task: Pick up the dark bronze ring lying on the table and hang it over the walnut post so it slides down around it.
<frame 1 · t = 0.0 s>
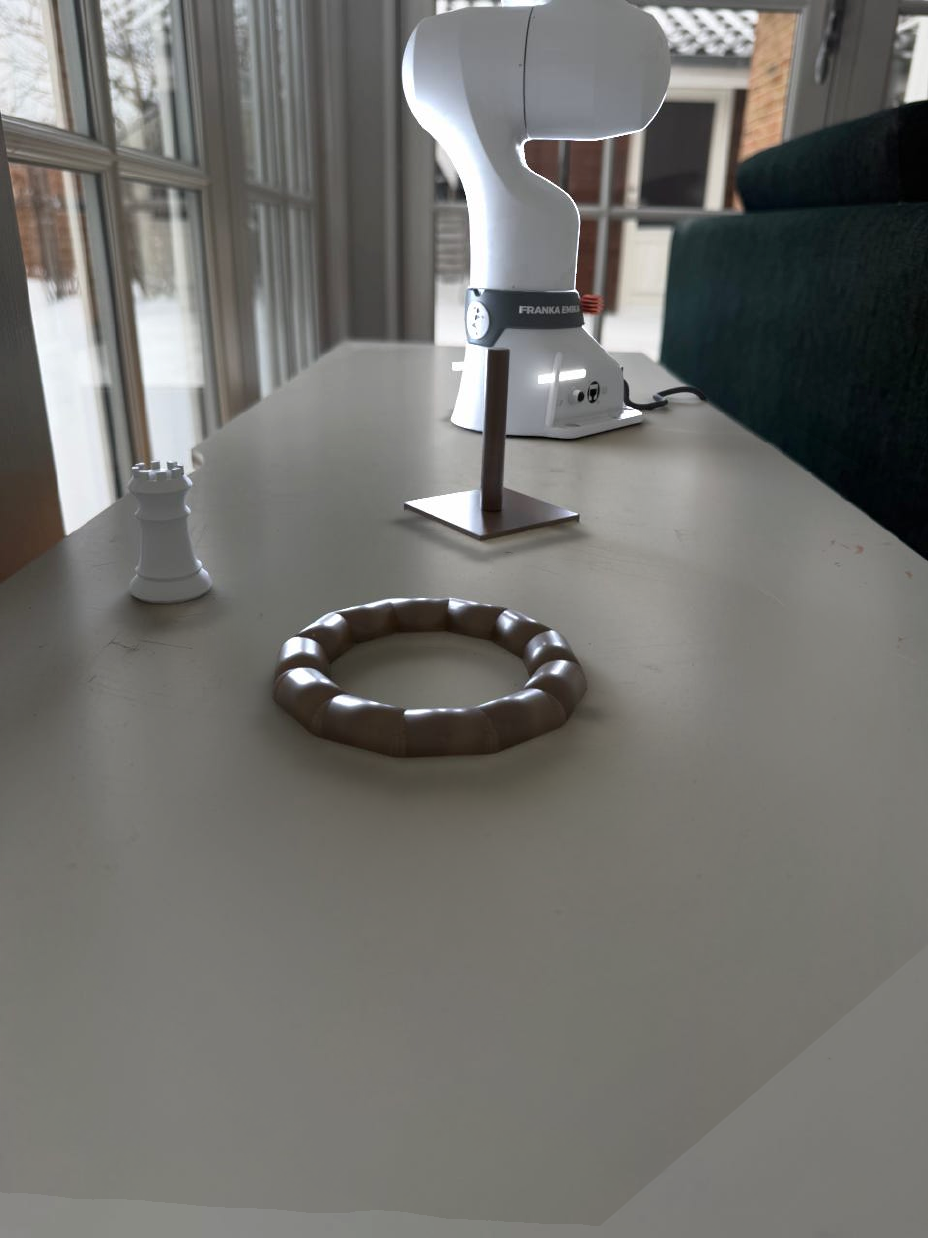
rook chess piece: (174, 612, 49), on the table
post: (490, 528, 64), on the table
ring: (429, 672, 40), point 1 cm above the table
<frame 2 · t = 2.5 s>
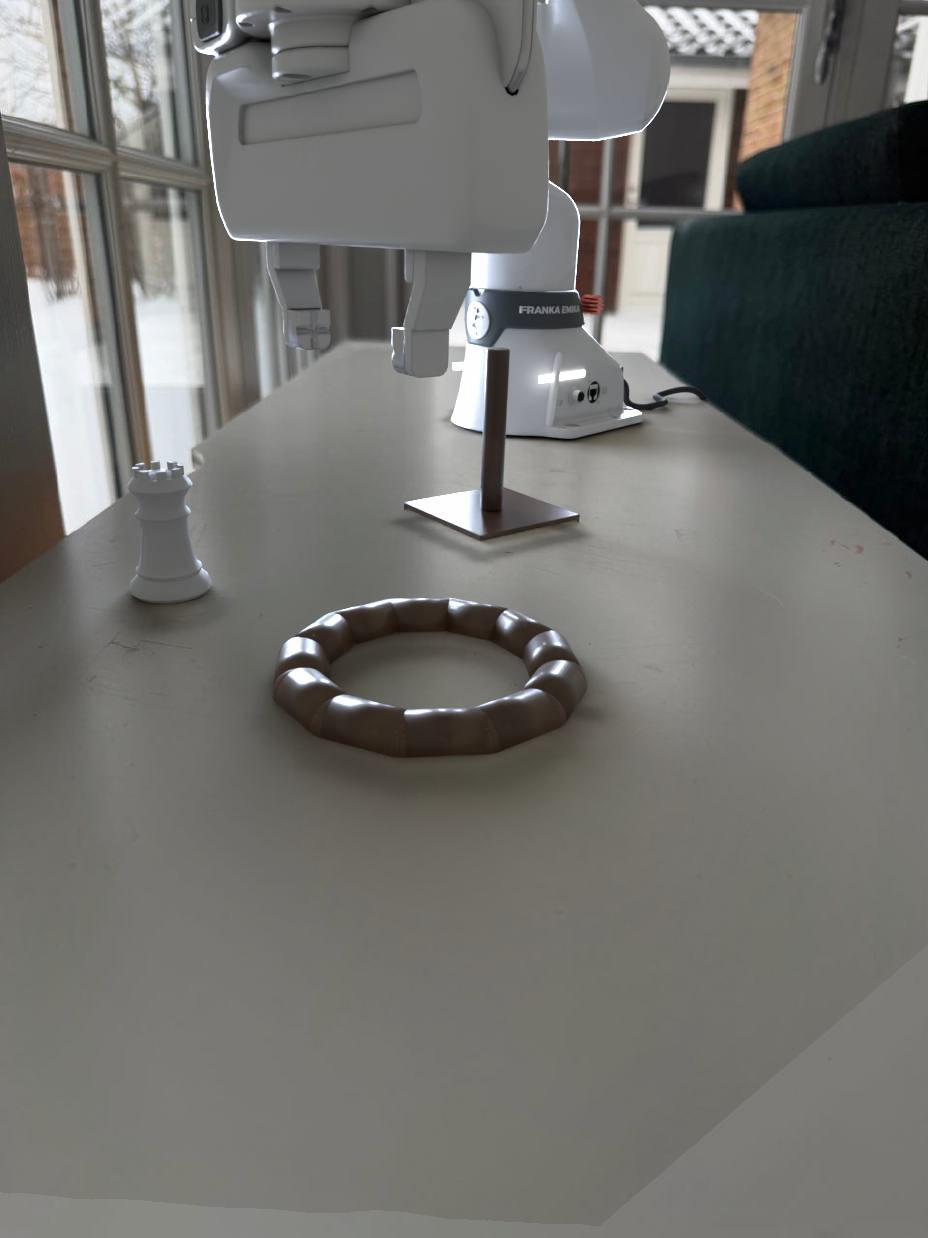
hand: (358, 360, 39), 14 cm above the table, tool pointing down, fingers open, 8 cm apart
nothing on the table moved.
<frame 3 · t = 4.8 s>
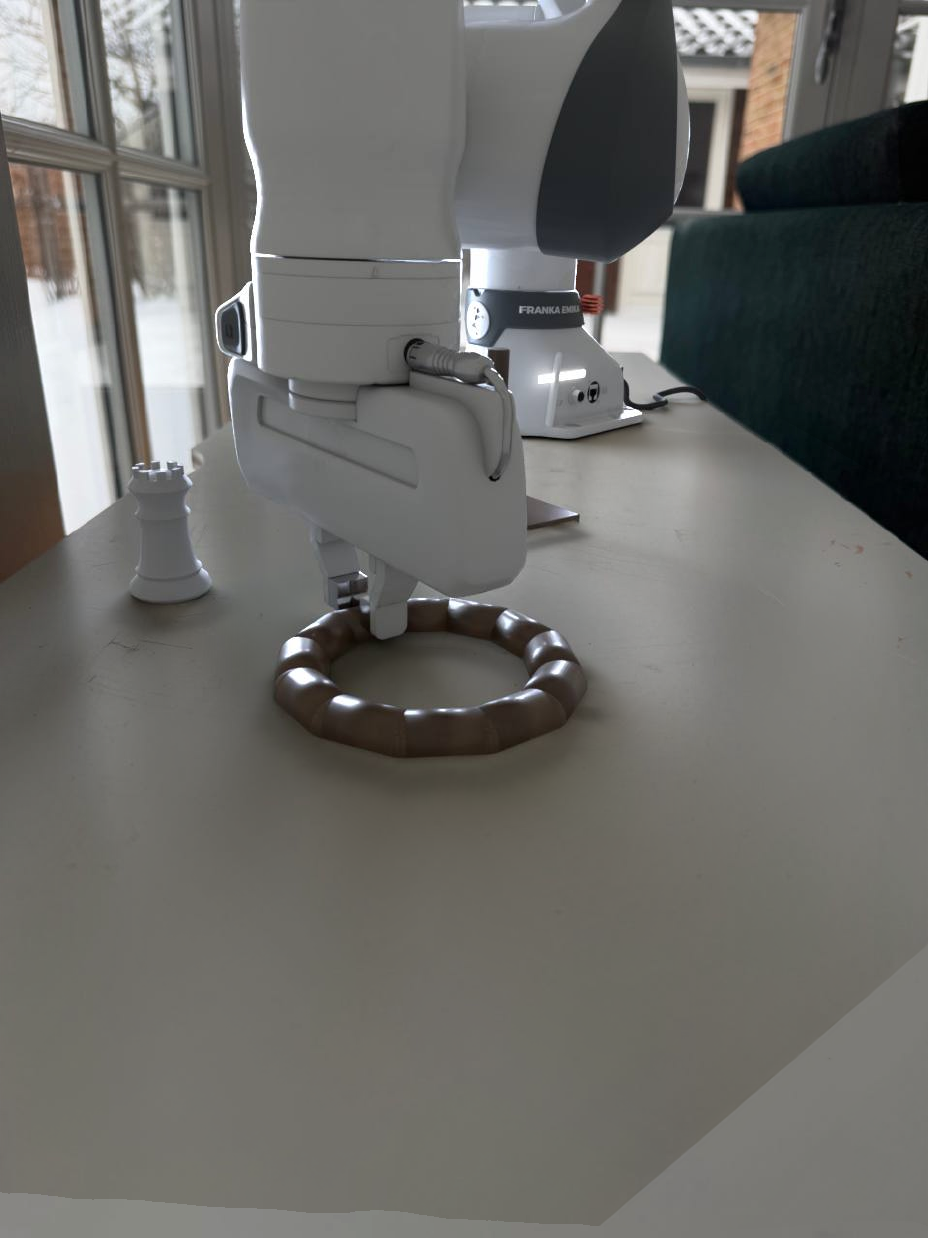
hand: (364, 619, 44), 2 cm above the table, tool pointing down, fingers closed on ring, 2 cm apart
ring: (429, 672, 40), point 1 cm above the table, touching gripper
everything else where it was.
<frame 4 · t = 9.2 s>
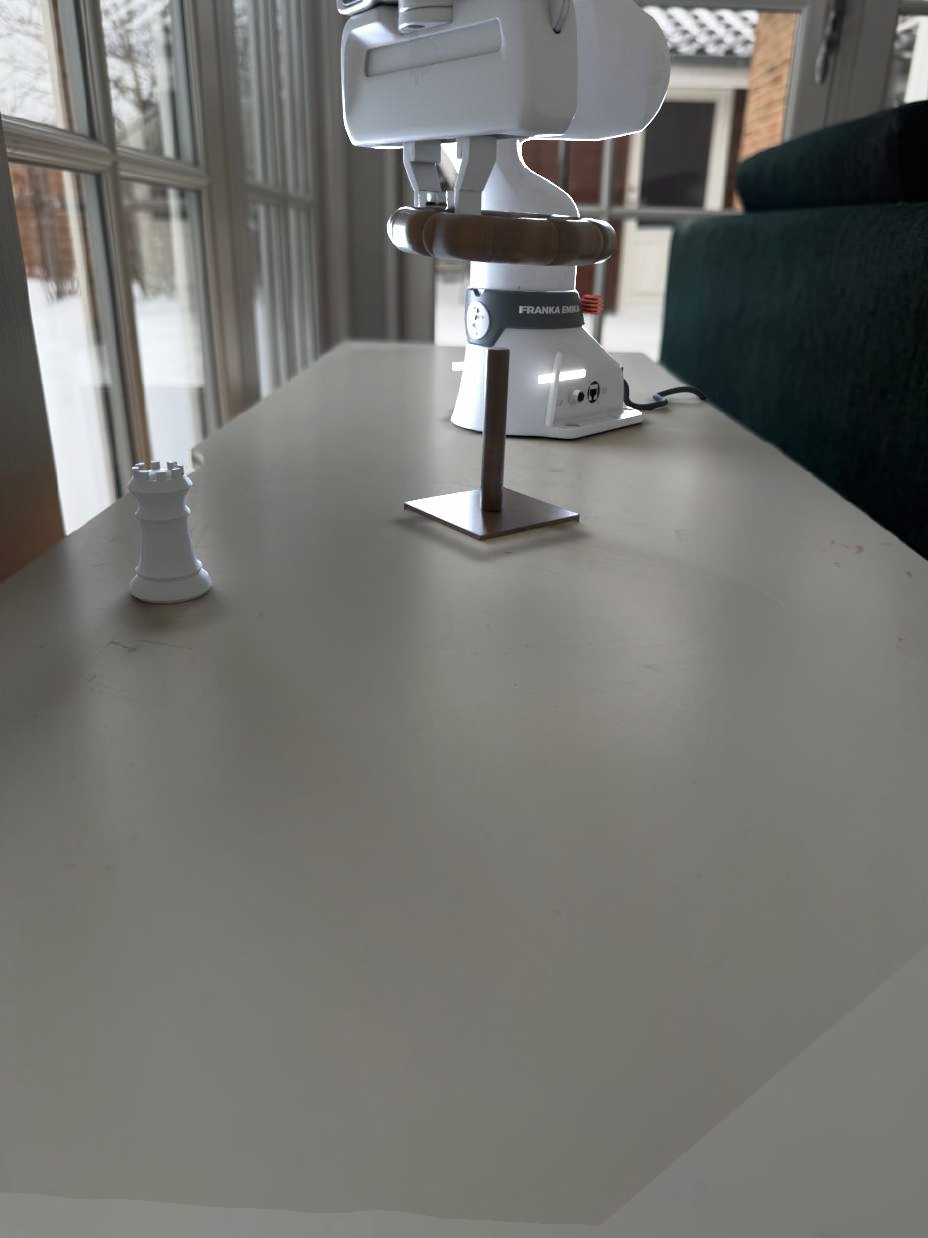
hand: (446, 220, 58), 20 cm above the table, tool pointing down, fingers closed on ring, 2 cm apart
ring: (500, 234, 54), point 19 cm above the table, touching gripper
everything else where it was.
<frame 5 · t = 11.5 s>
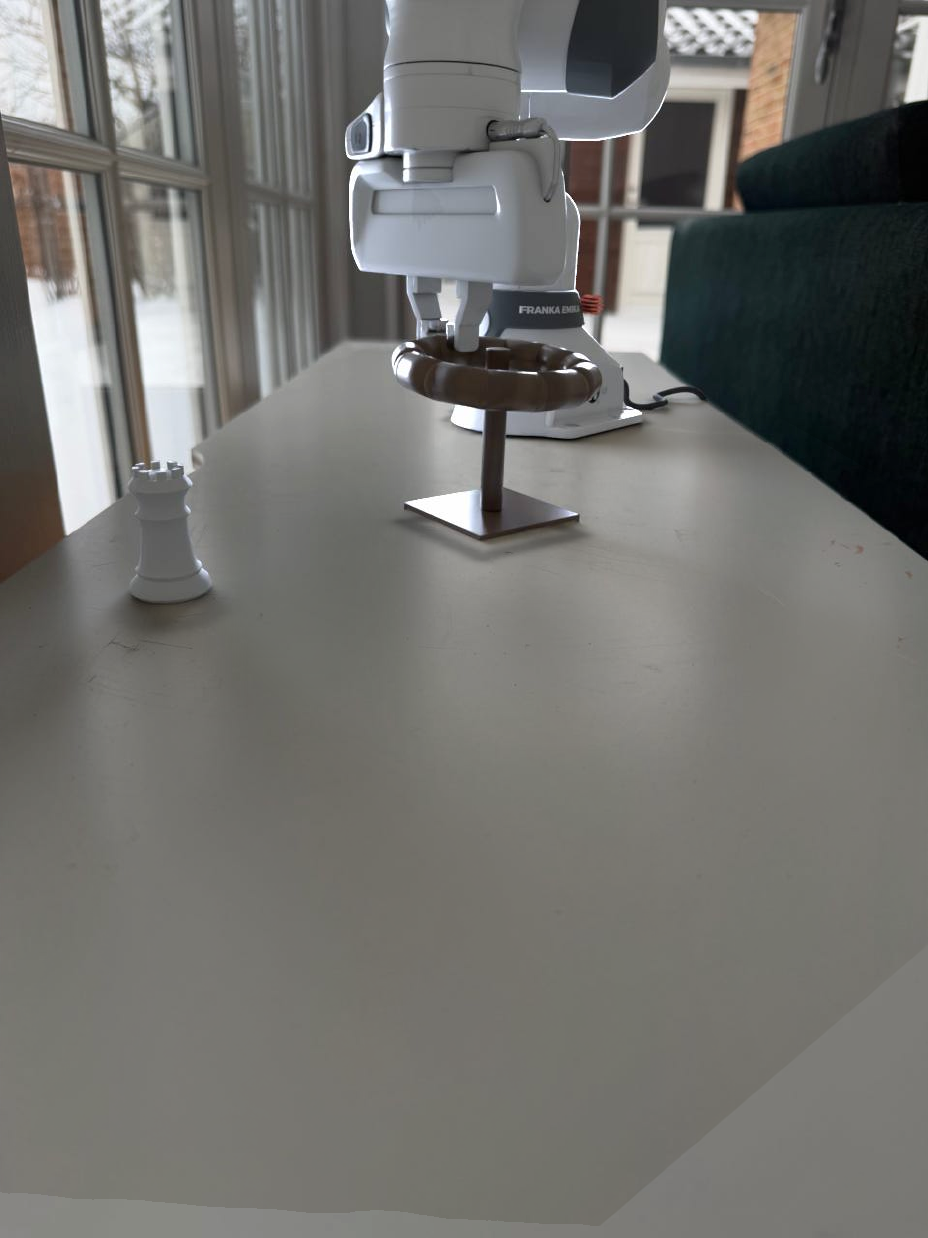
hand: (446, 347, 63), 12 cm above the table, tool pointing down, fingers closed on ring, 2 cm apart
ring: (496, 370, 59), point 11 cm above the table, touching gripper
everything else where it was.
when the fingers open (6 cm above the table, at t = 13.6 s): ring drops 2 cm, resting on post.
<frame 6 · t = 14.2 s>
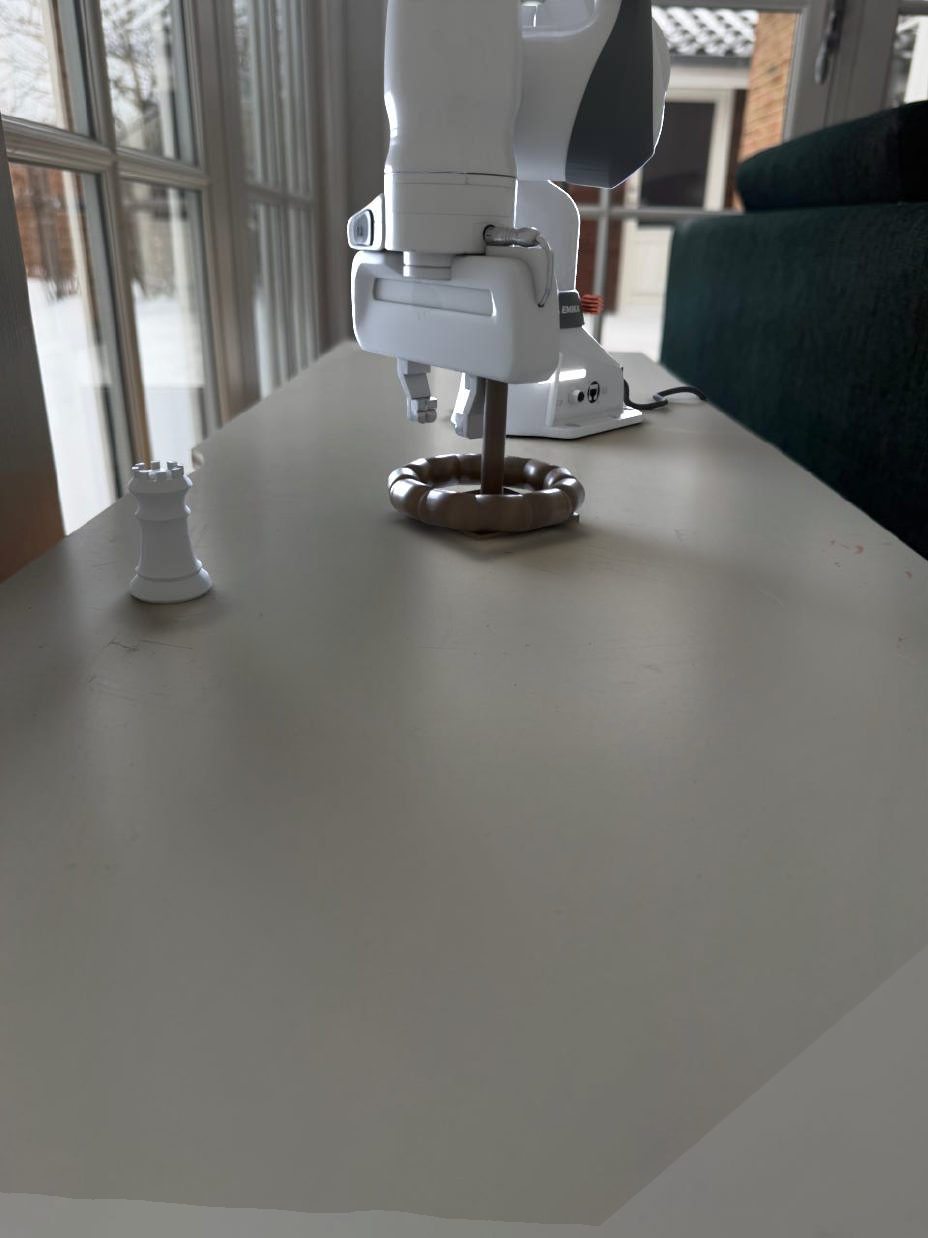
hand: (445, 429, 65), 6 cm above the table, tool pointing down, fingers open, 5 cm apart
ring: (485, 489, 63), point 3 cm above the table, touching post
everything else where it was.
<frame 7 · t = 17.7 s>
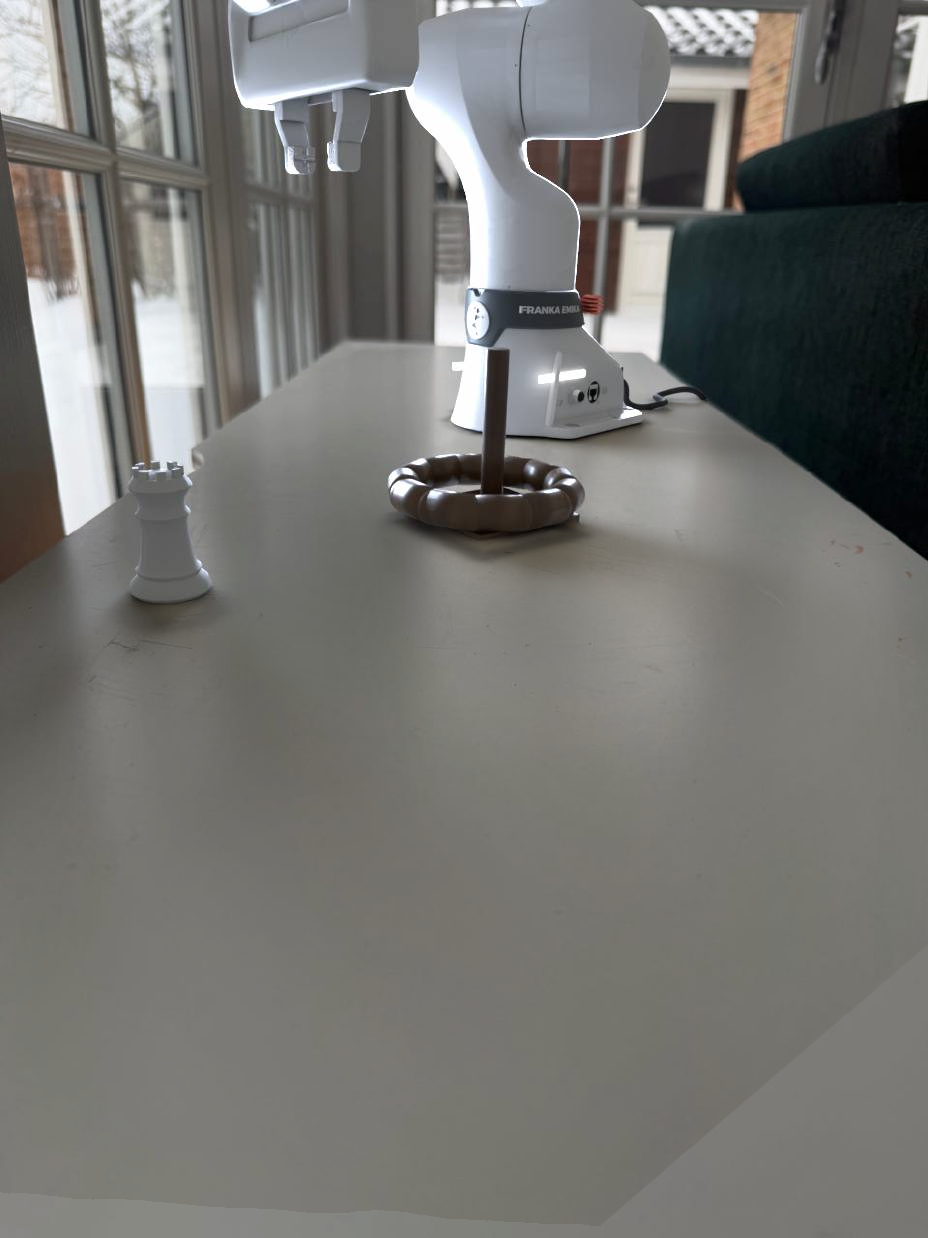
hand: (321, 172, 64), 23 cm above the table, tool pointing down, fingers open, 5 cm apart
nothing on the table moved.
at the end: ring 0.7 cm off-centre on the post, point 2.7 cm above the post's base; the gripper is holding nothing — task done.
